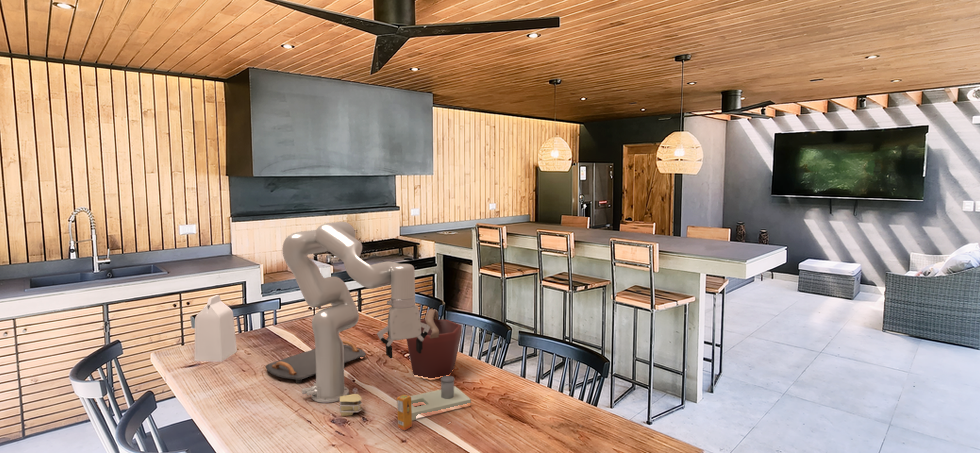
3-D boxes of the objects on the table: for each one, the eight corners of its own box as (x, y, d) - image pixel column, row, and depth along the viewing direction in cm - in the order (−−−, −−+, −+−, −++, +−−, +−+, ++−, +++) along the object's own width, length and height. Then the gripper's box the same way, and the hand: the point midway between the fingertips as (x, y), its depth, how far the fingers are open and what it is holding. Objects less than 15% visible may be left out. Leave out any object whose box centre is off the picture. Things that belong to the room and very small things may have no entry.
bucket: (449, 387, 185) (449, 321, 183) (393, 381, 190) (393, 317, 187) (465, 363, 209) (466, 305, 207) (415, 359, 214) (415, 301, 211)
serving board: (293, 388, 183) (293, 372, 182) (257, 374, 196) (257, 359, 195) (372, 358, 215) (372, 344, 214) (337, 347, 228) (336, 334, 227)
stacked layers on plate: (334, 422, 158) (334, 405, 158) (335, 409, 167) (335, 394, 166) (367, 418, 161) (367, 402, 160) (366, 406, 170) (366, 390, 169)
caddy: (410, 421, 159) (410, 394, 158) (397, 406, 169) (397, 381, 169) (470, 406, 170) (471, 381, 169) (455, 392, 180) (455, 369, 180)
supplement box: (404, 423, 157) (404, 393, 156) (412, 427, 155) (412, 396, 154) (396, 427, 155) (396, 396, 154) (404, 431, 153) (404, 400, 152)
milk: (221, 361, 207) (219, 300, 204) (194, 361, 207) (191, 299, 205) (237, 351, 219) (235, 293, 216) (211, 351, 219) (208, 293, 217)
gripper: (379, 308, 152) (381, 362, 154) (432, 302, 160) (433, 353, 162) (373, 303, 159) (375, 355, 160) (425, 297, 167) (426, 347, 168)
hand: (404, 354), depth 161 cm, fingers open, 9 cm apart
